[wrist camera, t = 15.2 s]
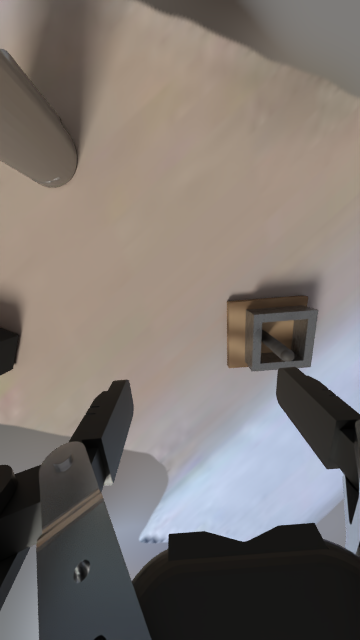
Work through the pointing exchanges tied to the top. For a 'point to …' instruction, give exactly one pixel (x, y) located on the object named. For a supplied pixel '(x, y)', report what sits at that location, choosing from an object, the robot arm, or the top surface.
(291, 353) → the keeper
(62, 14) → the top surface
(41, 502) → the robot arm
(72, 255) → the top surface
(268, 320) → the link
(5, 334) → the toy
